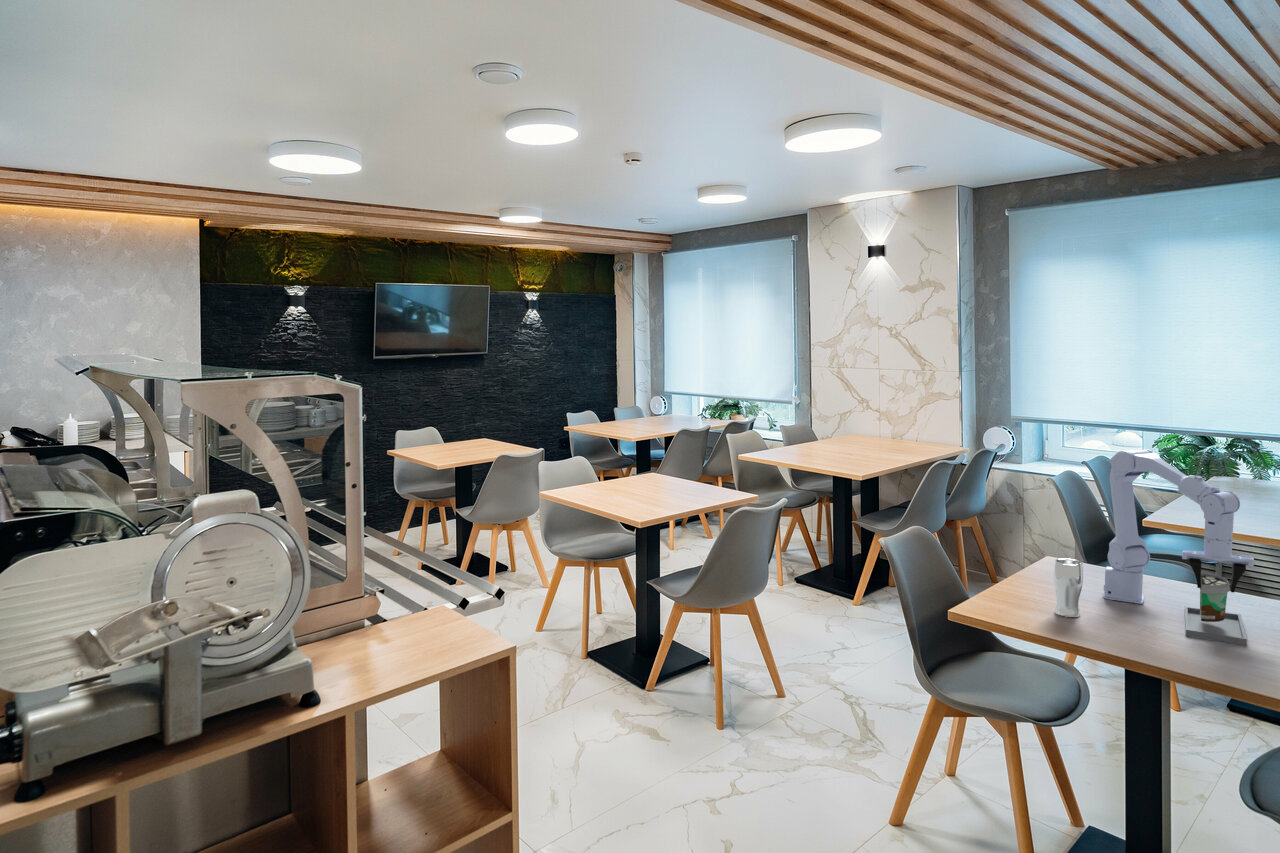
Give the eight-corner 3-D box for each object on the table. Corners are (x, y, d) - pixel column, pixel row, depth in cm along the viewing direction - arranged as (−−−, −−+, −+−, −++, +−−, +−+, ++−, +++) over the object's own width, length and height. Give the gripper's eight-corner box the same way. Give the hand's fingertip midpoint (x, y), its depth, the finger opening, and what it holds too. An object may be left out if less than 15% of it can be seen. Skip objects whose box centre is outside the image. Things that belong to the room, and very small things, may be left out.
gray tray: (1185, 635, 187) (1186, 629, 187) (1184, 612, 203) (1184, 606, 203) (1246, 645, 180) (1246, 639, 180) (1240, 620, 196) (1240, 614, 196)
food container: (1232, 627, 184) (1232, 588, 183) (1201, 623, 188) (1201, 585, 187) (1228, 611, 194) (1229, 574, 193) (1199, 608, 198) (1200, 571, 197)
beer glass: (1080, 611, 206) (1081, 559, 204) (1083, 619, 199) (1085, 566, 198) (1051, 608, 209) (1053, 557, 207) (1054, 616, 202) (1055, 563, 201)
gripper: (1183, 538, 190) (1181, 588, 192) (1256, 545, 182) (1253, 598, 183) (1183, 532, 196) (1180, 581, 197) (1253, 539, 187) (1250, 590, 189)
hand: (1215, 589), depth 191 cm, fingers closed on food container, 6 cm apart
